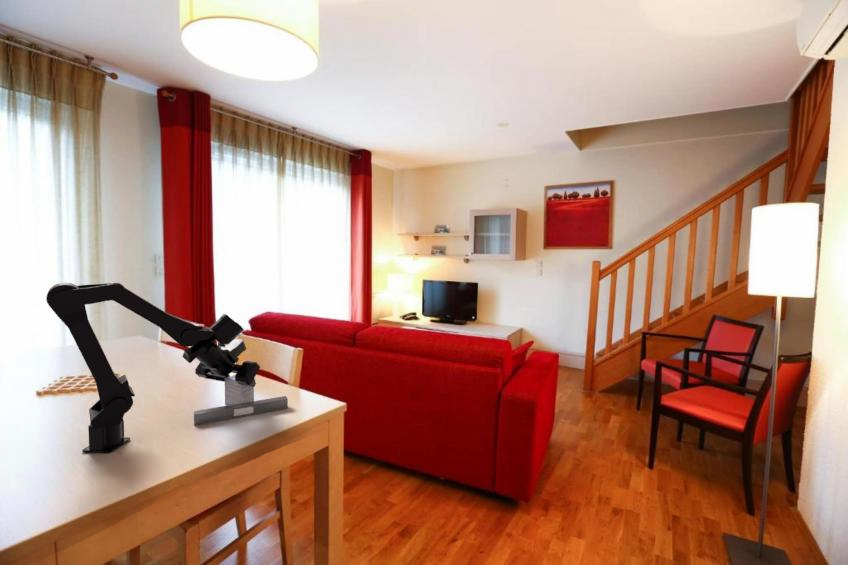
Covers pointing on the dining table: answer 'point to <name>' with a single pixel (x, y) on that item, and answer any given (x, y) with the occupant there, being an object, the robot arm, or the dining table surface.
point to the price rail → (239, 410)
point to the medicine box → (237, 392)
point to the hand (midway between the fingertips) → (243, 383)
